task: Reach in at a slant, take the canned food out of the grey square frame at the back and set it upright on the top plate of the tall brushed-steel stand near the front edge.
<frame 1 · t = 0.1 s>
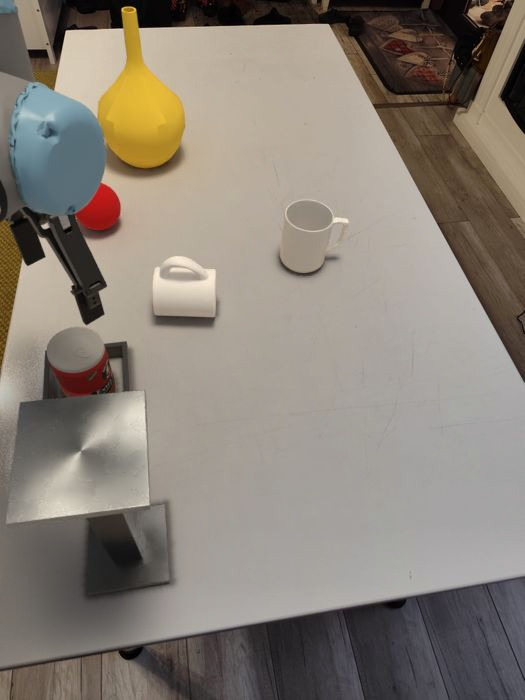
hand: (63, 288, 68), 20 cm above the table, tool pointing down, fingers open, 13 cm apart
steel stand: (129, 548, 68), on the table
ornament: (101, 225, 104), on the table
mug 2: (186, 308, 93), on the table
grey square frame: (90, 388, 82), on the table
canned food: (90, 389, 82), resting in grey square frame
mug: (308, 260, 102), on the table
vase: (146, 156, 118), on the table
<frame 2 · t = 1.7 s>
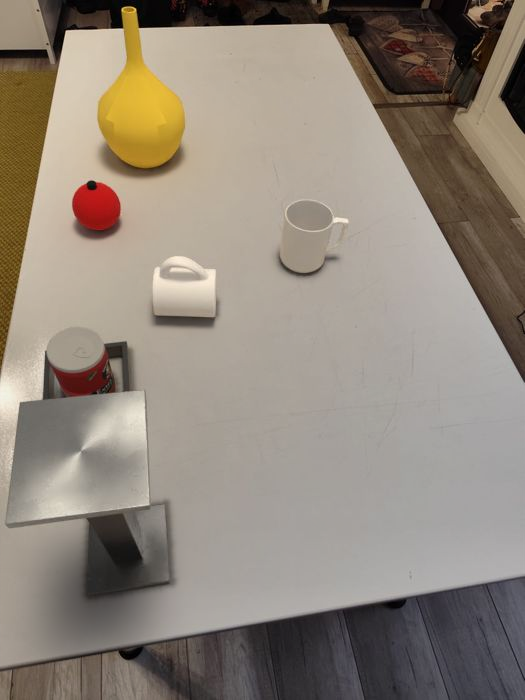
nothing on the table moved.
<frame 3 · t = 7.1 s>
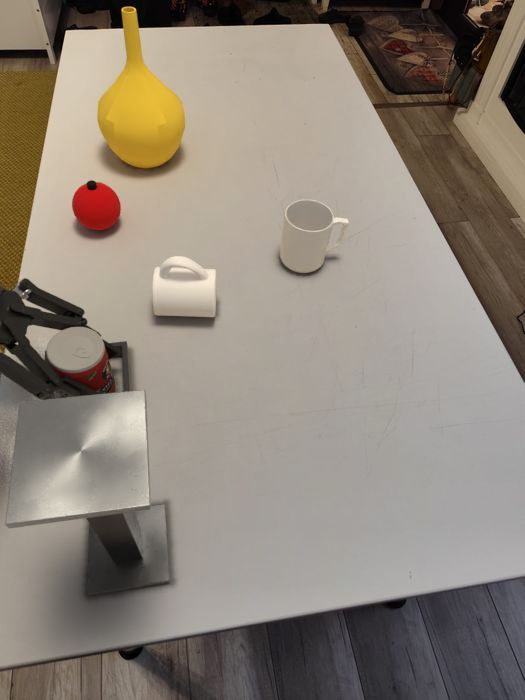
hand: (106, 377, 78), 4 cm above the table, tool tilted 45°, fingers closed on canned food, 8 cm apart
canned food: (90, 389, 82), resting in grey square frame, touching gripper
everything else where it was.
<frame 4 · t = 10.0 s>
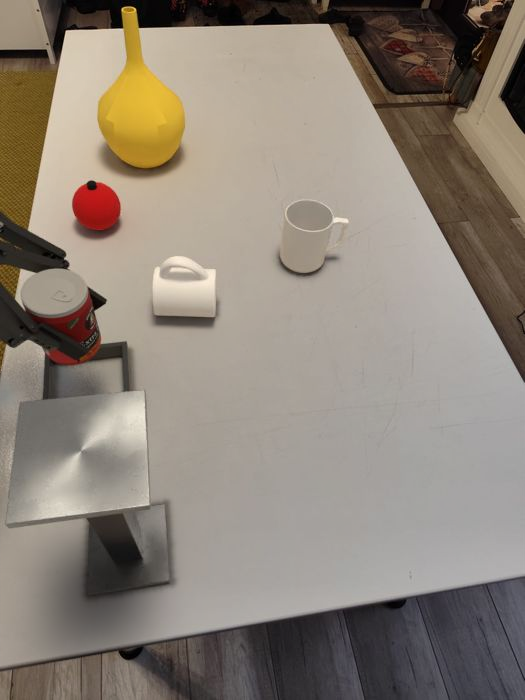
hand: (91, 329, 69), 16 cm above the table, tool tilted 45°, fingers closed on canned food, 8 cm apart
canned food: (73, 345, 72), point 12 cm above the table, touching gripper
everything else where it was.
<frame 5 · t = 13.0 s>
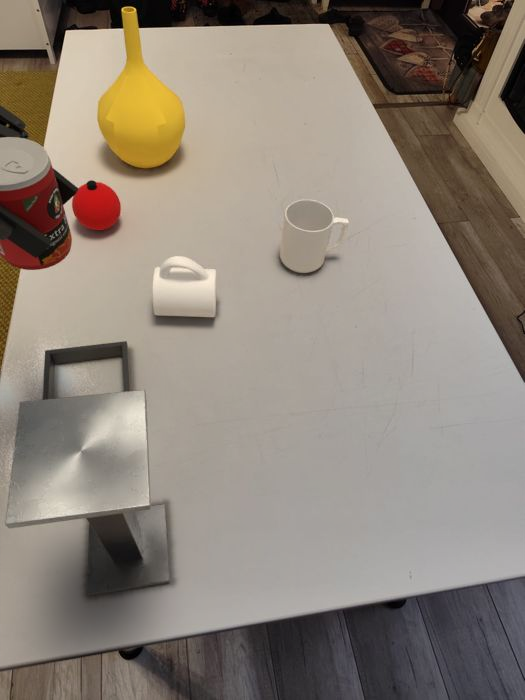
hand: (57, 222, 54), 34 cm above the table, tool tilted 45°, fingers closed on canned food, 8 cm apart
canned food: (37, 248, 57), point 30 cm above the table, touching gripper
everything else where it was.
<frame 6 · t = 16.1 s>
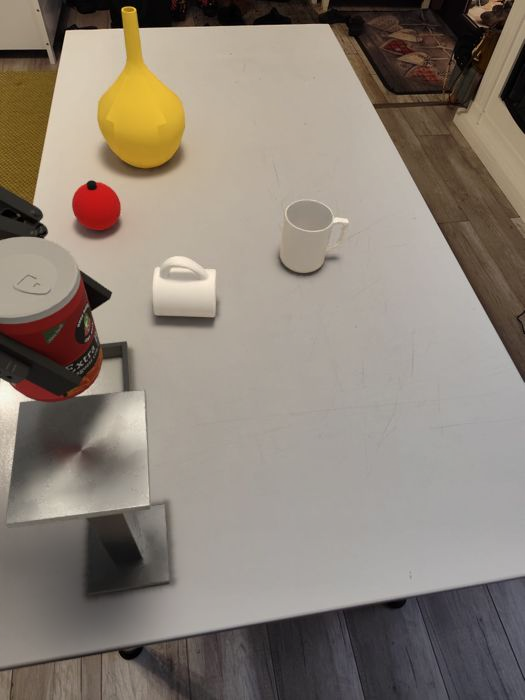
hand: (86, 341, 41), 38 cm above the table, tool tilted 45°, fingers closed on canned food, 8 cm apart
canned food: (57, 367, 44), point 34 cm above the table, touching gripper
everything else where it was.
when the fingers open (34 cm above the table, at t = 18.6 s): canned food stays where it is, resting on steel stand.
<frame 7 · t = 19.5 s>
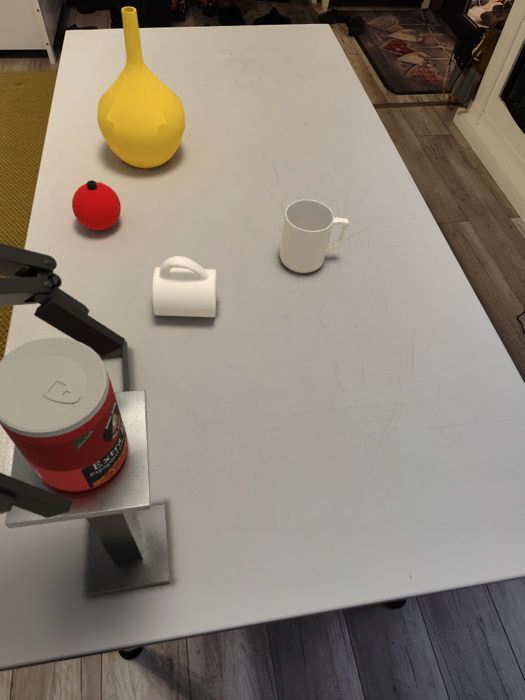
hand: (90, 420, 39), 36 cm above the table, tool tilted 45°, fingers open, 13 cm apart
canned food: (82, 451, 44), point 30 cm above the table, touching steel stand
everything else where it was.
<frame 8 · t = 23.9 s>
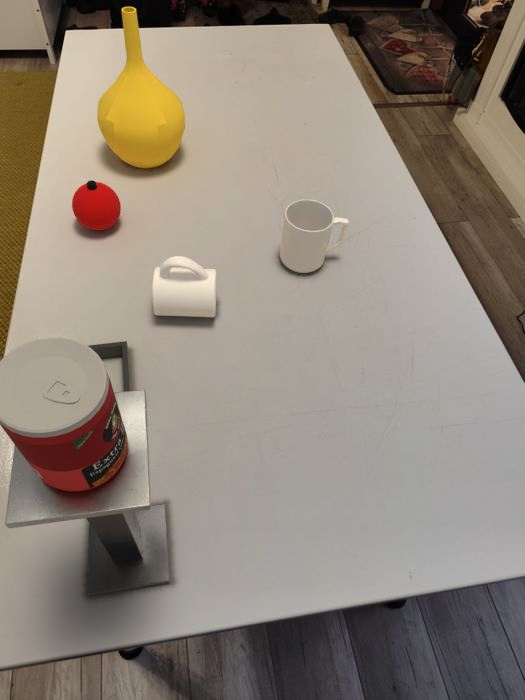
nothing on the table moved.
at the end: canned food inside the target area on the steel stand (0.0 cm from its centre), point 29.8 cm above the steel stand's base; canned food tilted 0°; the gripper is holding nothing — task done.
